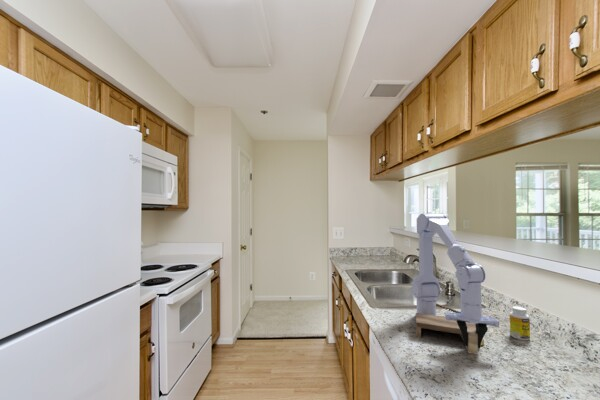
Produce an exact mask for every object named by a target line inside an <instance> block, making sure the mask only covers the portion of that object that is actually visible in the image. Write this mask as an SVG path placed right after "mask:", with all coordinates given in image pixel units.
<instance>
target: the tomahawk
mask: <svg viewBox="0 0 600 400" xmlns="http://www.w3.org/2000/svg"><path fill="white" fill-rule="evenodd" d="M439 306H441V307H440V308H442V307H443V308H442V309H444V308H446V309H445V310H447V309H449V310H448V311H450V310H451V312H452V311H453V312H452V313H455V312H456V313H461V311H458V310H456V309H453V308H451V307H447V306H445V305H442V304H439V303H437V302H436V307H439Z"/></svg>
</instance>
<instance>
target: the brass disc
mask: <svg viewBox="0 0 600 400" xmlns="http://www.w3.org/2000/svg"><path fill="white" fill-rule="evenodd" d="M484 346H485V340H484V338H483V339H482V342H481V345H480V347H484Z"/></svg>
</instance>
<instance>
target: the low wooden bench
mask: <svg viewBox="0 0 600 400" xmlns="http://www.w3.org/2000/svg"><path fill="white" fill-rule="evenodd" d="M466 326H467V330H474V331H475V332H476V325H475V323H468V322H466ZM422 329H424V330H430V331H436V332H437V331H438V332H443V333H450V334H455V335H456V334H457V335H460V333H461V330H460V328H459V326H458V324H457V321H453V320H450V321H448V320H446V318H445V316H441V315H436V316H435V315H428V314H420V313H417V312H415V330H416V331H415V335H416V338H419V339H420V338H422ZM461 334H462V333H461Z"/></svg>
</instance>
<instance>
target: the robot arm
mask: <svg viewBox="0 0 600 400" xmlns="http://www.w3.org/2000/svg"><path fill="white" fill-rule="evenodd" d="M449 226H450V220H449V219H448V216H447V215H446V214H445V213H420V214H419V215H418V216H417V218H416V234H418V269H419V270H418V271H419V273H418V274H416V275H415V276H414V277H413V278H412V284H411V293H412V295H413V296H414V298H415V299H416V313H420V314H428V315H435V316H437V306H436V303H437V301H439V300H438V299H439V298H440V296H441V294H442V289H441V286H440V280H439V279H438V278H437V277H436V276H434V245H433V244H434V243H433V237H434V236H435V235H438V237H439V238H440V240H441V241H442V243H443V244H444V245H445V246H446V248H447V252H446V254H447V256H448V257H449V259H450V261H451V263H452V264H453V266H454V268H455V269H456V271H455V272H454V273H455V278H456V280H457V285H458V287H459V290H460V292H459V293H460V296H459V297H460V298H459V299H460V312H461V313H455V312H444V314H445V315H444V317H445V318H446V320H448V321H450V320H453V321H457V324H458V326H459V328H460V330H461V333H462V336H463V339H462V340H464V341H463V345H464V346H465V347H466V346H467V347H468V342H467V326H466V322H468V323H475V325H476V333H477V334H478V350H480V349H481V346H480V345H481V342H482V339H483V340H484V336H485V335H486V333H487V332H488V330H489V329H488V326H491V327H495V328H500V320H499V319H498V318H493V317H488V316H482V315H483V314H482V311H483V309H482V283H484V282H485V280H486V272H485V268H484V267H483V266H482V265H481V264H478V263H477V262H476V261H474V260H473V259H472V256H471V255H469V253H468V251H467V249H466V248H465V246H463V245H460V244H458V242H457V240H456V238H455V236H454V234H453V233H452V230H451V229H450V227H449Z"/></svg>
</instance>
